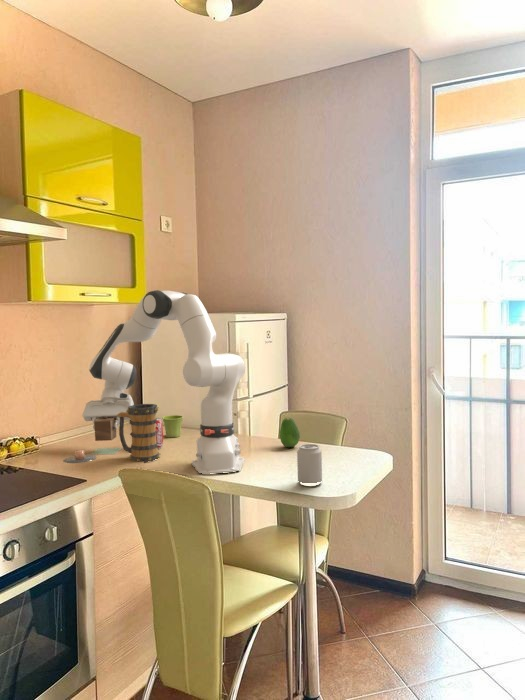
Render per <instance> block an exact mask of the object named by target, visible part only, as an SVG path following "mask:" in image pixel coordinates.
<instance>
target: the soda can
mask: <svg viewBox="0 0 525 700" xmlns="http://www.w3.org/2000/svg"><path fill="white" fill-rule="evenodd" d="M156 419H157V421H156V429H155V430H156V432H158V433H157V434H156V442H157V443H158V444H157V445H158V447H157V450H160V449H162V447H163V446H164V431H163V430H164V429H163V422H162V421H163V420H161V417H156ZM159 448H160V449H159Z"/></svg>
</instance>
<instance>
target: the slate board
mask: <svg viewBox="0 0 525 700" xmlns="http://www.w3.org/2000/svg"><path fill="white" fill-rule="evenodd" d="M84 455H85V459H83V460H75V455H72V456H70V457H66V458H64V459H63V463H65V464H82V463H88V462H92V461H94V460H96V459H97V455H89V454H84Z"/></svg>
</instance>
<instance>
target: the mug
mask: <svg viewBox="0 0 525 700" xmlns="http://www.w3.org/2000/svg"><path fill="white" fill-rule="evenodd" d="M158 411H159V407H158V405H157V404H156V403H155V404H154V403H138V404H134V405H132V406H129V407H128V409H127V411H126V412H120V413H119V414H117V416H118V417H120V424H119V425H118V426H119V427H118V430H119V431H118V432H119V435H118V436H119V441H120V443H121V446H122V449H123V450H124V451H125V452H127V453H130V455H129V457H128V458H127V459H128V460H130V461H133V462H144V463H149V462H148V461H151V462H154V461H153V460H155V459H158V458H159V459H160V458H161V453H160V452H159V451H158V450H159V449H157V447H158V445H157V444H158V443H157V442H156V434H157V433H158V432H156V430H155V429H156V421H157V419H156V418H157V413H158ZM124 417H127V418H130V420H129V425H131V432H130V433H129V435H130V436H131V446H130V447H129V446H128V444H127V441H126V438H125V433H124V431H125V430H124V425H125V420H124ZM159 459H158V460H159ZM155 461H156V460H155Z"/></svg>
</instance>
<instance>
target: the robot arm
mask: <svg viewBox="0 0 525 700" xmlns="http://www.w3.org/2000/svg"><path fill="white" fill-rule="evenodd" d="M162 320H167V321H178V323H179V325H180V328H181V332H182V333H183V336H184V339H185V342H186V346H187V350H188V351H187V352H188V355H187V359H186V361H185V363H184V364H183V368H182V375H183V376H182V377H183V379H184V381H185V382H186V384H188V385H189V386H191V387H198V388H206V387H209V390H208V392H207V394H206V395H205V397H204V398H203V399H202V400H201V402H200V420H201V421H200V422H201V423H200V428H199V432H200V434H199V435H200V437H198V439H197V440H196V454H195V455H196V459H194V460H192V461H191V465H192V466H193V468H194V467H195V468H194V469H195V470H196V472H197V471H198V472H199V473H202V474H201V475H211V474H210V473H223V472H233V471H238V470H240V469H241V470H242V468H241V467H243V466H242V464H243V465H244V463H243V462H245V458H244V457H242V456H241V449H240V443H239V438H238V437H237V436H236V435H235V434H234V433H235V426H234V422H233V400H234V399H233V398H234V394H235V392H236V391H235V390H236V388H237V385H238V384H239V382H240V380H241V379H242V378H243V377H244V375H245V372H246V364H245V362H244V360H243V358H242V357H241V356H240V355H238V354H233V353H217V354H216V353H215V352H214V350H213V344H215V341H216V340H217V331H216V330H215V328H214V325H213V322H212V321H211V318H210V315H209V314H208V311H207V309H206V307H205V306H204V304H203V302H202V301H201V299H200V298H199V296H197V295H195V294H191V293H190V294H188V293H186V292H179V291H173V290H159V289H156V290H150V291H148V292H147V293H146V294H145V295H144V296H143V297H142V298H141V299H140V301H139V303H138V304H137V305H136V308H135V309H134V311H133V313H132V315H131V317H130V318H129V319H128V320H127V321H126V322H124V323H120V324H118V325H117V326H116V328H115V329H114V330H113V331H112V332H111V334H110V336H109V337H108V339H107V340H106V341H105V343H104V344H103V346H102V347H101V349H100V350H99V351H98V352H97V354H96V355H95V357H93V359H91V361H90V364H89V369H88V371H89V372H90V374H91V376H92V378H94V379H97V380H103V381H105V382H104V388H103V389H102V393H101V397H100V400H99V399H98V400H97V399H96V400H90V401H88V402H86V403H85V407H84V409H83V411H82V418H83V420H84V421H85V422H92V423H93V424H92V428H93V430H95V426H94V420H96V419H98V418H103V416H107V418H108V417H116V422H115V423H113V426H112V427H113V429H116V430H117V429H118V428H119V427H118V426H120V417H118V416H117V414H119V413H120V412H126V411H127V409H128V407H129V406H132V405H135V403H134V400H133V398H132V396H131V394H129V393H125V391H126V390H128V389H129V388H131V387H132V386H133V385H134V383H135V379H136V375H137V369H136V366H135V365H134V364H132V363H130V362H127V361H124V360H120V359H116V358H114V357H112V356H111V355H112V354H113V352H114V350H115V349H116V348H117V346H118V345H120V344H122V343H141V342H142V343H143V342H146V341H149V340H151V339H152V338H153V337H154V336H155V334H156V333H157V331H158V329H159V326H160V324H161V322H162ZM124 421H130V418H127V417H124ZM241 470H240V471H241ZM198 472H197V473H198ZM199 473H198V474H199Z"/></svg>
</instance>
